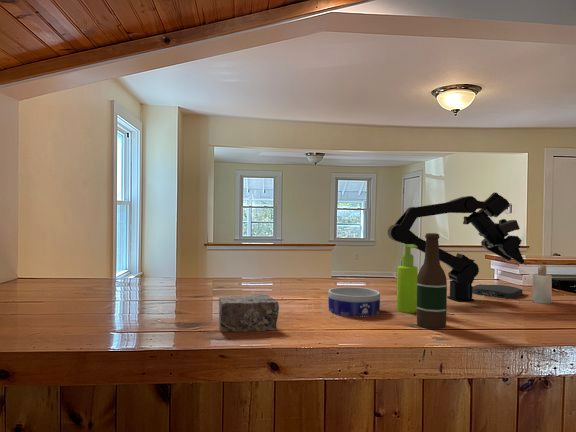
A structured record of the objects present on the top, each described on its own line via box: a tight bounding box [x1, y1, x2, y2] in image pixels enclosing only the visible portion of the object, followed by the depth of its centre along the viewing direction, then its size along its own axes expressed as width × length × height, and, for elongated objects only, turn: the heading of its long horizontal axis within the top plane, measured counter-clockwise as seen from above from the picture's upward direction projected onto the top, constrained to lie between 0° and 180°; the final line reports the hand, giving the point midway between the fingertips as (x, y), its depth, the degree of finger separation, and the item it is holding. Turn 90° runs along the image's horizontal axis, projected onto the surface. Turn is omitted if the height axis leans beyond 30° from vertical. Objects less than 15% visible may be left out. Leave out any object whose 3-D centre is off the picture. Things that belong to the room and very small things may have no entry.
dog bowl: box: [327, 286, 381, 318], centre depth 122 cm, size 15×15×6 cm
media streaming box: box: [472, 283, 524, 300], centre depth 150 cm, size 15×15×3 cm
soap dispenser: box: [396, 243, 419, 314], centre depth 122 cm, size 6×7×20 cm
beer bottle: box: [416, 232, 448, 330], centre depth 106 cm, size 8×8×24 cm
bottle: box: [531, 264, 553, 305], centre depth 137 cm, size 5×5×12 cm
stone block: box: [218, 293, 280, 333], centre depth 103 cm, size 14×9×8 cm, turn 106°
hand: (516, 261), depth 138 cm, fingers open, 9 cm apart
